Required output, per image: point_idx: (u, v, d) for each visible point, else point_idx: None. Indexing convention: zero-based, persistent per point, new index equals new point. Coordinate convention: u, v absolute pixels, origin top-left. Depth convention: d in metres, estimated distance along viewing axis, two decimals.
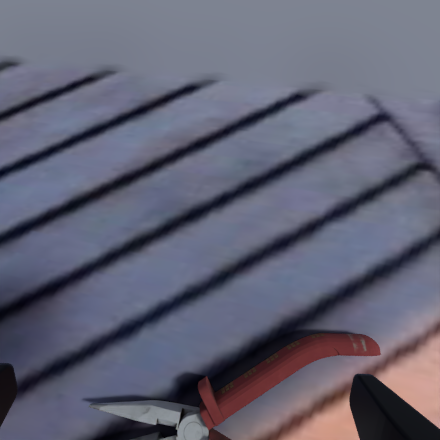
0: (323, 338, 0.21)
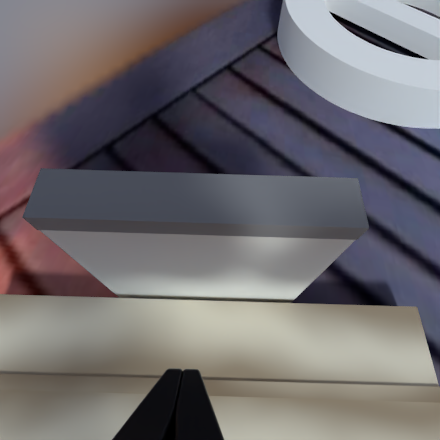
0: None
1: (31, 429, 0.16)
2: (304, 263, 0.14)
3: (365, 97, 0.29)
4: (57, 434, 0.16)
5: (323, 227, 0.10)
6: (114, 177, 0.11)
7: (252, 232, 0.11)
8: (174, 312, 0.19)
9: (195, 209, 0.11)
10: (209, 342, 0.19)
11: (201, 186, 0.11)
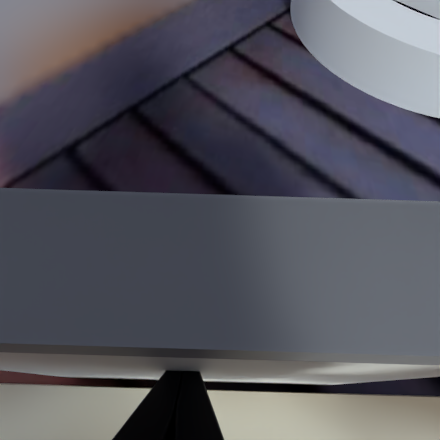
0: None
1: None
2: (390, 374, 0.07)
3: (412, 82, 0.22)
4: None
5: None
6: None
7: None
8: None
9: (145, 300, 0.04)
10: None
11: (168, 228, 0.04)
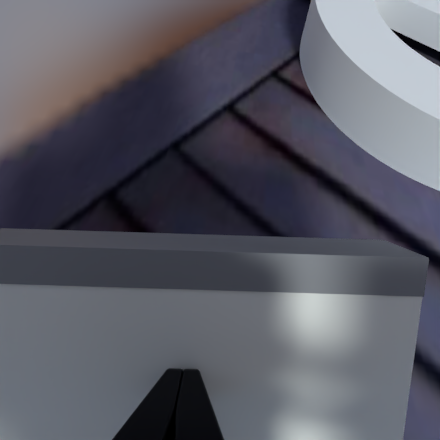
0: None
1: None
2: (363, 399, 0.08)
3: None
4: None
5: (365, 258, 0.07)
6: (88, 232, 0.09)
7: (266, 279, 0.08)
8: None
9: (186, 245, 0.08)
10: None
11: (195, 238, 0.09)
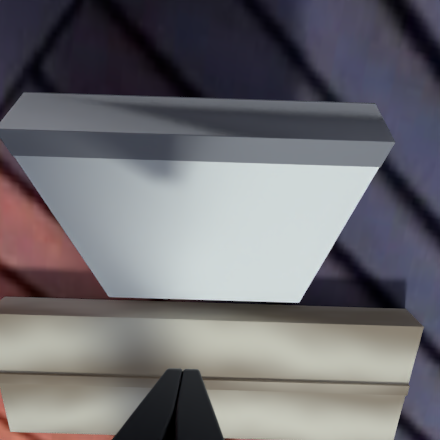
0: None
1: (73, 404, 0.21)
2: (318, 219, 0.12)
3: None
4: (94, 407, 0.21)
5: (342, 142, 0.09)
6: (104, 99, 0.10)
7: (260, 155, 0.10)
8: (173, 330, 0.19)
9: (194, 125, 0.09)
10: (209, 353, 0.20)
11: (201, 107, 0.10)
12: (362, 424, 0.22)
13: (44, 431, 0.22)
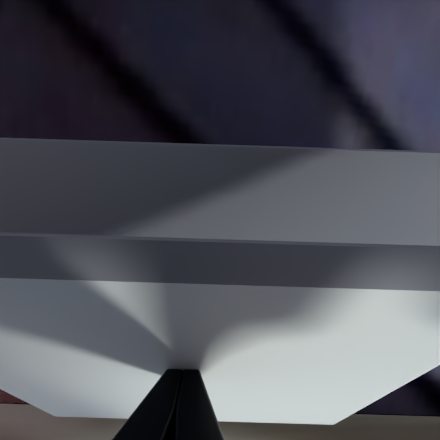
0: None
1: None
2: (395, 356, 0.07)
3: None
4: None
5: None
6: None
7: (305, 274, 0.04)
8: None
9: (155, 209, 0.04)
10: None
11: (176, 164, 0.05)
12: None
13: None
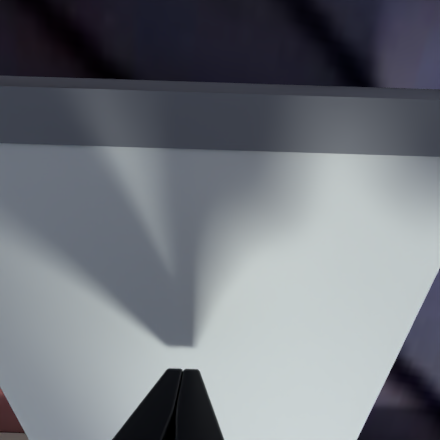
0: None
1: None
2: (384, 276, 0.07)
3: None
4: None
5: (430, 104, 0.05)
6: (47, 77, 0.07)
7: (288, 135, 0.06)
8: None
9: (178, 88, 0.06)
10: None
11: (191, 83, 0.07)
12: None
13: None
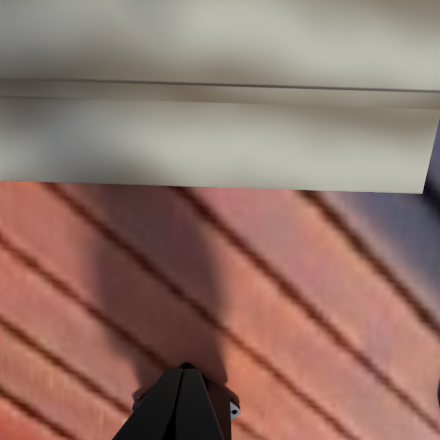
0: None
1: (18, 131, 0.17)
2: None
3: None
4: (45, 136, 0.17)
5: None
6: None
7: None
8: (142, 1, 0.15)
9: None
10: (190, 42, 0.15)
11: None
12: (385, 162, 0.17)
13: None
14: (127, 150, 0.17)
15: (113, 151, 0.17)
